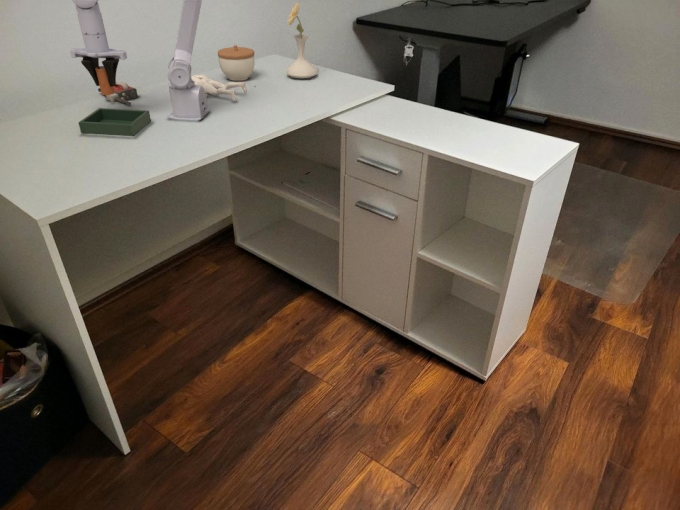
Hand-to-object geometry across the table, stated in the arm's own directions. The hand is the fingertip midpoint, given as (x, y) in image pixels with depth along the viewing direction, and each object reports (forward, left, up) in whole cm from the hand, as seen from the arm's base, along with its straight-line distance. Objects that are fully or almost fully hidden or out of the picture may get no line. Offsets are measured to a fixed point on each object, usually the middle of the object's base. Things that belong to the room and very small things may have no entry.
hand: (106, 85), depth 143 cm
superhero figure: (-19, -28, -10) cm, 35 cm away
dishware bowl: (-24, -46, -10) cm, 53 cm away
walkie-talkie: (+6, -19, -10) cm, 22 cm away
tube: (0, 0, -2) cm, 2 cm away
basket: (-4, +6, -10) cm, 12 cm away
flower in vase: (-46, -52, -10) cm, 70 cm away
